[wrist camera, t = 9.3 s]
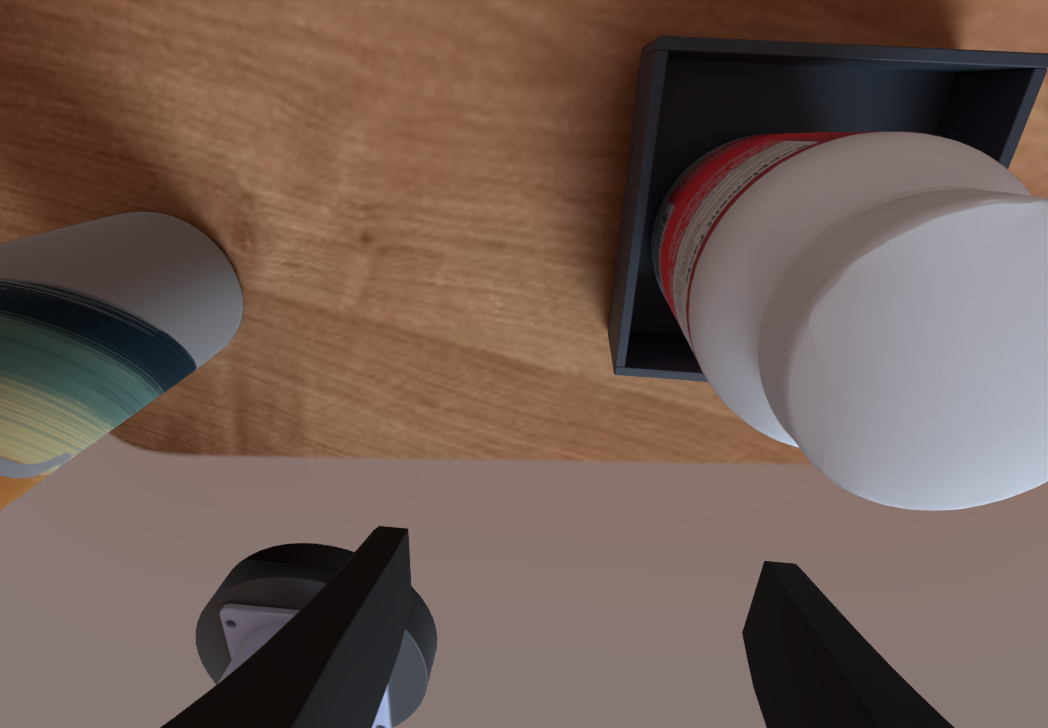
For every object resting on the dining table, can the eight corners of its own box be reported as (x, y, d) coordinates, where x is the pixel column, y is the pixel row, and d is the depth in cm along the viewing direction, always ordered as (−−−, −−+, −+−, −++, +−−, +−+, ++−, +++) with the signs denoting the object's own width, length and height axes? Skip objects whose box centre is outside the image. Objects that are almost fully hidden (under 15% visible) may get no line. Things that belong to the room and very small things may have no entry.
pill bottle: (888, 248, 18) (1312, 406, 7) (720, 364, 20) (873, 614, 9) (777, 84, 16) (1112, -1, 6) (608, 226, 18) (644, 343, 8)
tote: (863, 351, 20) (917, 398, 17) (607, 333, 20) (614, 375, 17) (961, 62, 16) (1054, 53, 13) (641, 47, 16) (658, 35, 13)
